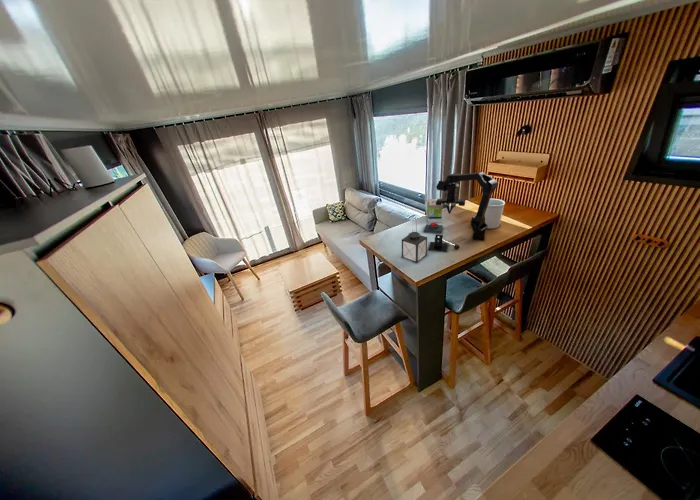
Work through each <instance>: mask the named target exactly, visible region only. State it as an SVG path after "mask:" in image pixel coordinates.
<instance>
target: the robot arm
mask: <svg viewBox="0 0 700 500" xmlns="http://www.w3.org/2000/svg"><path fill="white" fill-rule="evenodd" d="M466 181H477V183H478V185H479V186H480V187H481V194H482V196H481V199H480V201H479V205H478V208H477V212H476V214H475V215H473V216H472V217H471V220H470V226H471V229H472V240H473V241H481V242H483V241H485V235H486V230H487V229H489V228H488V226H487V224H486V223H485V212H486V209H487V206H488V203H489V200H490V198H491V197H492V196H493V193H494V192H495V191H496V189H497V187H498V186H499V183H498V181H497V180H496V179H494V178H493V177H492V176H490V175H487V174H486V173H484V172H483V171H479V172H471V173H458V172H453V173H451V174H448V175H447V176H446V179H445V180H438V183H437V184H436V186H435V188H436V190H437V191H440V192H445V193H444V198H445V200H443V198H436V199H437V201H436V205H441V204H442V205H444V207H445V208H446V210H447V212H448V214H449V215H451V213H452V211H453V209H454V208H456V206H457V205H458V206H459V207H465V206H466V199H464V198H463V199H462V198H460V199H458V200H456V194H457V188H459V187H460V184H459V183H458V182H466Z"/></svg>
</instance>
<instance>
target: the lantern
mask: <svg viewBox="0 0 700 500" xmlns="http://www.w3.org/2000/svg"><path fill="white" fill-rule="evenodd" d="M412 217H414V219H415V220H417V219H416V217H415V215H414V214H413V216H412ZM415 224H416V225H415V227H416V228H415V231H414V230H412V231H411V232H409V233H408V234H407V236H405V237H403V238H401V258H402V259H406V260H409V261H411V262H413V263H415V264H418V263H419V261H421V260H422V259H424V258H425V257H426V256H427V253H428V236H424V235H422V234H421V233H420V232H418V231H417V229H418V228H417V225H418V224H417V223H415Z"/></svg>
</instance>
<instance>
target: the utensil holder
mask: <svg viewBox="0 0 700 500" xmlns="http://www.w3.org/2000/svg"><path fill="white" fill-rule="evenodd" d="M505 205H506V202H505V201H504V200H503V199H500V198H491V197H490V200H489V203H488V206H487V209H486V212H485V223H486V224H487V226H488V228H487V229H497V228H499V227H500V224H501V220H502V216H503V212H504V209H505Z"/></svg>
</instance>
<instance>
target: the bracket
mask: <svg viewBox="0 0 700 500" xmlns="http://www.w3.org/2000/svg"><path fill="white" fill-rule="evenodd" d="M437 236H439V237H442V238H437ZM442 239H443V240H444V235H443V234H435V237H434V241H430V242H429V246H428V251H432V252H433V251H434V252H441V253H442V252H444V253H447V251H448V245H449V244H447V243H444V242H442Z"/></svg>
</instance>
